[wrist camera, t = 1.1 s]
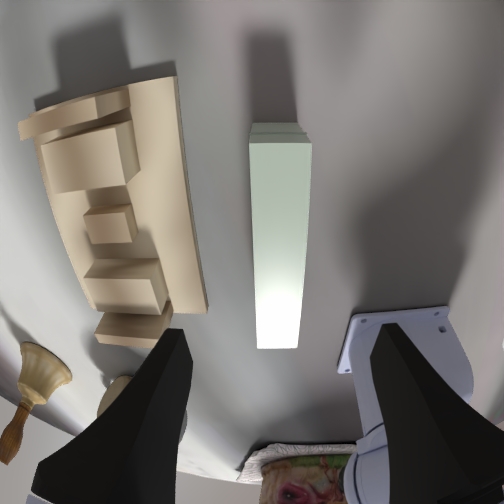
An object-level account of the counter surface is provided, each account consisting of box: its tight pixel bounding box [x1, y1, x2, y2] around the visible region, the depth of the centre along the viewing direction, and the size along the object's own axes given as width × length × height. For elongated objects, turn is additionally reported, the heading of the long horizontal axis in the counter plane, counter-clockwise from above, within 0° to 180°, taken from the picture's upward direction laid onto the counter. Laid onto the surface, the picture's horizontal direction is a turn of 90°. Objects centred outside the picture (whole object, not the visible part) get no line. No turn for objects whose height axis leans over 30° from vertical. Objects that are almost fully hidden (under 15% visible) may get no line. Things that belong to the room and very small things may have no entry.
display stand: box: [18, 76, 208, 348], centre depth 16 cm, size 10×16×4 cm, turn 2°
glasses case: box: [249, 123, 312, 348], centre depth 16 cm, size 2×12×5 cm, turn 2°
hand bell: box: [0, 342, 72, 465], centre depth 24 cm, size 8×8×16 cm
